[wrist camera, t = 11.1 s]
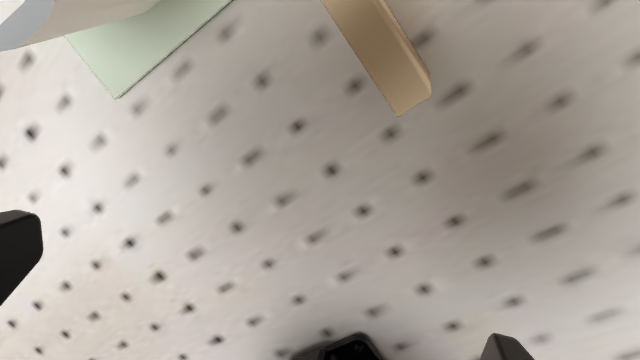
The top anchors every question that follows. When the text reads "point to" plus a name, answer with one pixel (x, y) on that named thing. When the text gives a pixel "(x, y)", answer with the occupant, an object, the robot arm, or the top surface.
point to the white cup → (60, 18)
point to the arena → (383, 51)
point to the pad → (140, 41)
